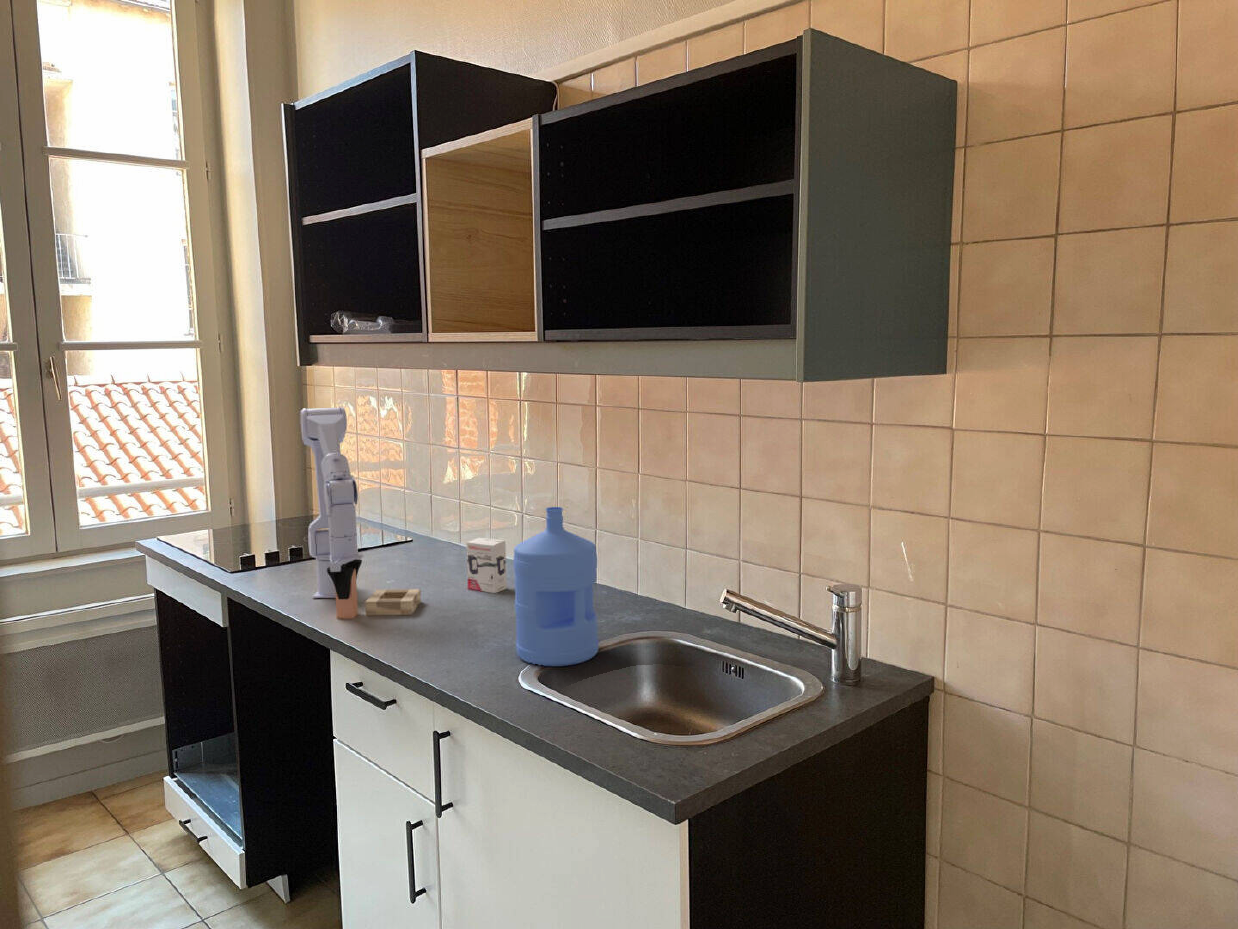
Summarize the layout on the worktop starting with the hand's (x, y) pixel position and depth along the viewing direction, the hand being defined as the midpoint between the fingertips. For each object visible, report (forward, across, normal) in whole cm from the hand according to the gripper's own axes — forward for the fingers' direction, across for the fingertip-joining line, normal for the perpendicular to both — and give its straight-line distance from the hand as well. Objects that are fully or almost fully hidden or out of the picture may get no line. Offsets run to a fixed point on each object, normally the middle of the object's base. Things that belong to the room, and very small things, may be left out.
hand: (346, 596), depth 201 cm
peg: (+4, 0, 0) cm, 4 cm away
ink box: (+5, +20, -28) cm, 35 cm away
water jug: (+5, -27, -47) cm, 54 cm away
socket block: (+4, +5, -9) cm, 11 cm away
